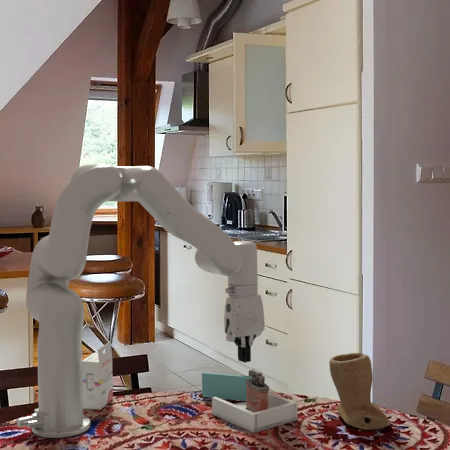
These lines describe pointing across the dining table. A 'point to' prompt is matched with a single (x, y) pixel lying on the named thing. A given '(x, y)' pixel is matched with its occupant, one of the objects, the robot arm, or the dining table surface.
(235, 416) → the box
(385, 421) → the clay boot vessel
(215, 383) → the box door
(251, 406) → the lighter
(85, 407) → the ink cartridge box
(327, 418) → the dining table surface
